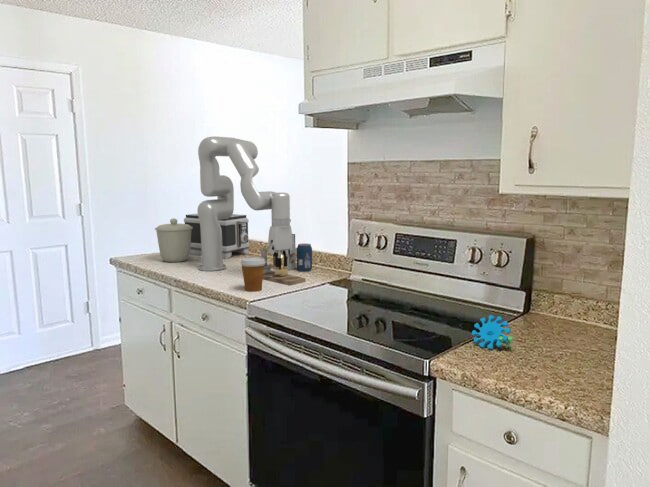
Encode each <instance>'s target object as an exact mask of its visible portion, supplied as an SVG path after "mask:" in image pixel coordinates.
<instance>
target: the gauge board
mask: <svg viewBox="0 0 650 487" xmlns="http://www.w3.org/2000/svg"><path fill="white" fill-rule="evenodd" d="M260 254H261V255H260V257H261V258H264V260H265V265H264V272H263V281H264V280H265V281H269V282H273V283H277V284H282V285H286V286H293V285H296V284H302V283H305V282H306V277H302V276H298V275H293V274H288V275H285V276H273V275H275V270H271V269H272V268H271V265H270V264H268V249H267V248H262V249H260Z"/></svg>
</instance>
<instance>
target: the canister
mask: <svg viewBox="0 0 650 487" xmlns="http://www.w3.org/2000/svg"><path fill="white" fill-rule="evenodd" d="M169 222H170V223H165V224H160V225H157V227H155V228H154V230H155V231H156V238H157V244H158V248H159V249H158V250H159V254H160V257H161V260H162V261H164V262H167V263H180V262H184V261H187V260H188V259H189V257H190V255H191V254H190V246H191V231H192V229H193V227H191V226H190V225H188V224H185V223H178V219H177V218H175V217H174V218H173V217H172V218H171V219H170V220H169Z"/></svg>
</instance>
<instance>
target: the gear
mask: <svg viewBox="0 0 650 487" xmlns="http://www.w3.org/2000/svg"><path fill="white" fill-rule="evenodd" d="M479 320H480V322H481V323H482V326H480V324H479V323H478V322H476V323H474V328H475V329H477V330H479V332H477V331H476V330H475V329H474V330H472V332H471V335H472V336H473V337H474V338H473V342H474V343H475V344H479V347H480V348H481V349H484V348H485V347H486V346H487V348H488V349H489V350H494V344H495V346H496V347H497V348H501V347H503V344H504V345H506V346H508V348H509V349H511V348H512V344H511V343H513V342H514V339H513V336H511V335H509V334H510V333H511V329H510V328H509V327H508V326H509V323H508V321H507V320H504V321H503V318H502V316H500V315H499V316H497V317H496V319H495V316H494V315H492V314H491V315H488V320H487V319H486V318H485V317H481V318H479ZM499 322H500V323H499ZM503 332H505V333H506V334H507V335H506V334H504V333H503ZM508 335H509V336H508ZM476 336H478V337H476ZM482 341H483V342H482Z"/></svg>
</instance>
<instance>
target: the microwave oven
mask: <svg viewBox="0 0 650 487" xmlns="http://www.w3.org/2000/svg"><path fill="white" fill-rule="evenodd" d="M183 222H184V224H188V225H190V226H191V227H193V229H192V231H191V246H190V255H193V256H200V257H202V256H201V231H200V221H199V217H198V213H190V214H185V217H184V218H183ZM218 222H219V224H220V226H221V229H222V252H223V259H224V260H227V259H230V258H231V257H232V256H233V254H239V255H249V253H250V252H249V251H250V247H251V246H250V242H249V218H248V217H247V215H246V214H237V213H236V214H234V213H233V214H232V216H231V217H230V218H228V219H222V220H218Z"/></svg>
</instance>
